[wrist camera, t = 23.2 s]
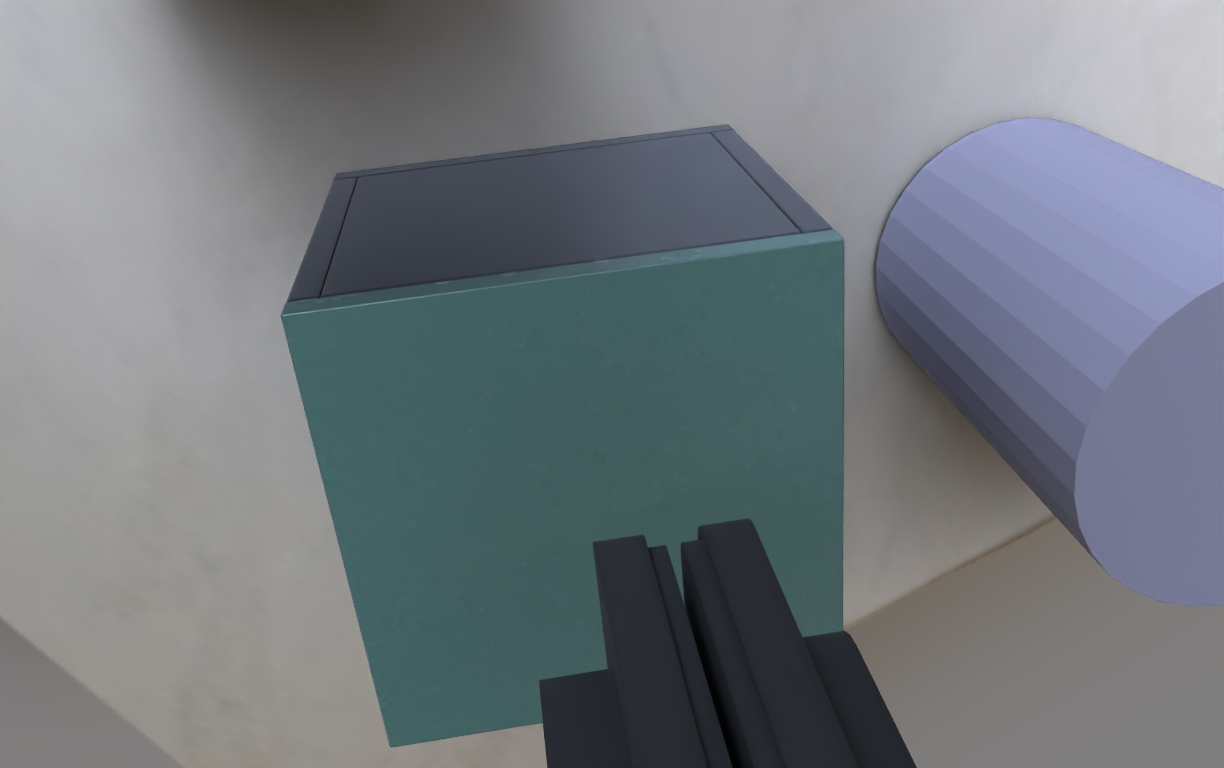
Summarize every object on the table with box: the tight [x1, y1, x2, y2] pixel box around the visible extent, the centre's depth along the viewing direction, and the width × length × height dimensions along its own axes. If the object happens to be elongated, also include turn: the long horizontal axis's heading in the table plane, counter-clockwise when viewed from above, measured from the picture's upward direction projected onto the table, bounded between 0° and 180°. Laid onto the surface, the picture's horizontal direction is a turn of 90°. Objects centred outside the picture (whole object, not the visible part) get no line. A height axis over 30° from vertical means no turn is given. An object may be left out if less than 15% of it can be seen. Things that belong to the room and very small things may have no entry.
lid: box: [281, 230, 844, 747], centre depth 29 cm, size 14×14×1 cm
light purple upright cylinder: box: [876, 118, 1224, 606], centre depth 34 cm, size 10×10×15 cm
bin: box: [287, 124, 833, 303], centre depth 35 cm, size 13×14×12 cm
